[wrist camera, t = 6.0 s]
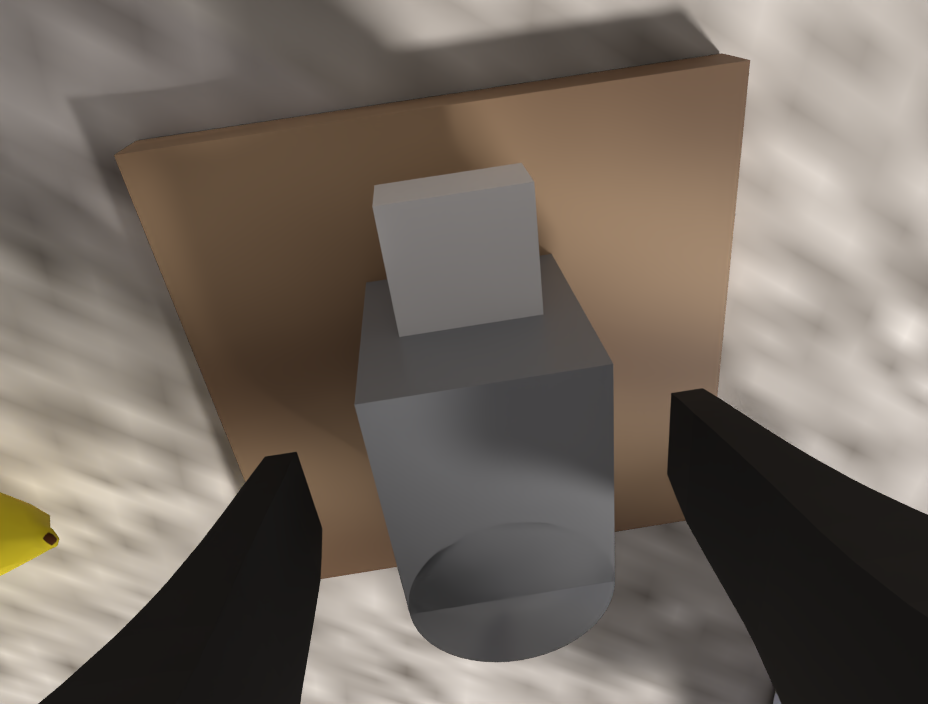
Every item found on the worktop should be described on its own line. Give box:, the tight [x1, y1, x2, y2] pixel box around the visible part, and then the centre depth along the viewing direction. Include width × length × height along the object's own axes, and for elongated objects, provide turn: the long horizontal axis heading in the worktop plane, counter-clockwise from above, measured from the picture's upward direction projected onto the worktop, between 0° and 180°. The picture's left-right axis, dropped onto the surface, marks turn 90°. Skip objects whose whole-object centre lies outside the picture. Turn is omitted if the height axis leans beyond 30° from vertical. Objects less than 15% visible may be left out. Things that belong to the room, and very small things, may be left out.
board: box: [114, 54, 750, 579], centre depth 16 cm, size 12×12×1 cm
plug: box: [354, 163, 615, 662], centre depth 13 cm, size 9×4×4 cm, turn 7°
